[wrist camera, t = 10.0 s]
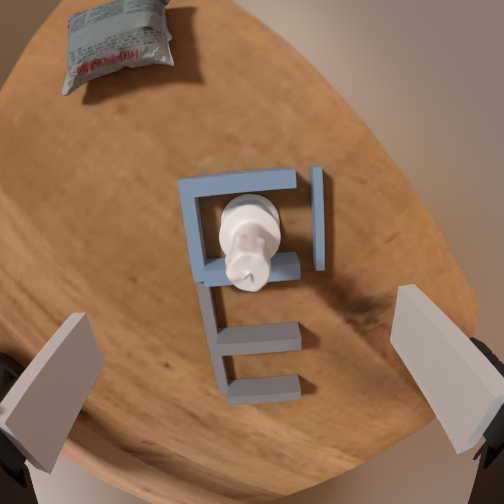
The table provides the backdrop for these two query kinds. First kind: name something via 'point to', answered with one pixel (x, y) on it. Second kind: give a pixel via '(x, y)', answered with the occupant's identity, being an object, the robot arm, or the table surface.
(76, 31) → the packaged food
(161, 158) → the table surface
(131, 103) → the table surface
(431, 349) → the robot arm
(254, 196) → the candle
